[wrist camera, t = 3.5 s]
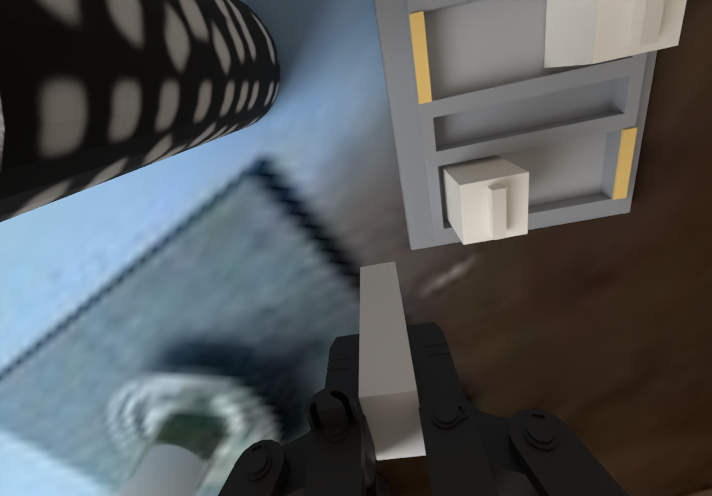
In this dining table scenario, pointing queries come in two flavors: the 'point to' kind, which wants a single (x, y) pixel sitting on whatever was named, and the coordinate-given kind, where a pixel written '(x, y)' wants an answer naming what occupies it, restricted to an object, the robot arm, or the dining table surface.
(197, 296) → the dining table surface
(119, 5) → the spotted tube
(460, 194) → the tab
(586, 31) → the tab
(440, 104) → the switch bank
